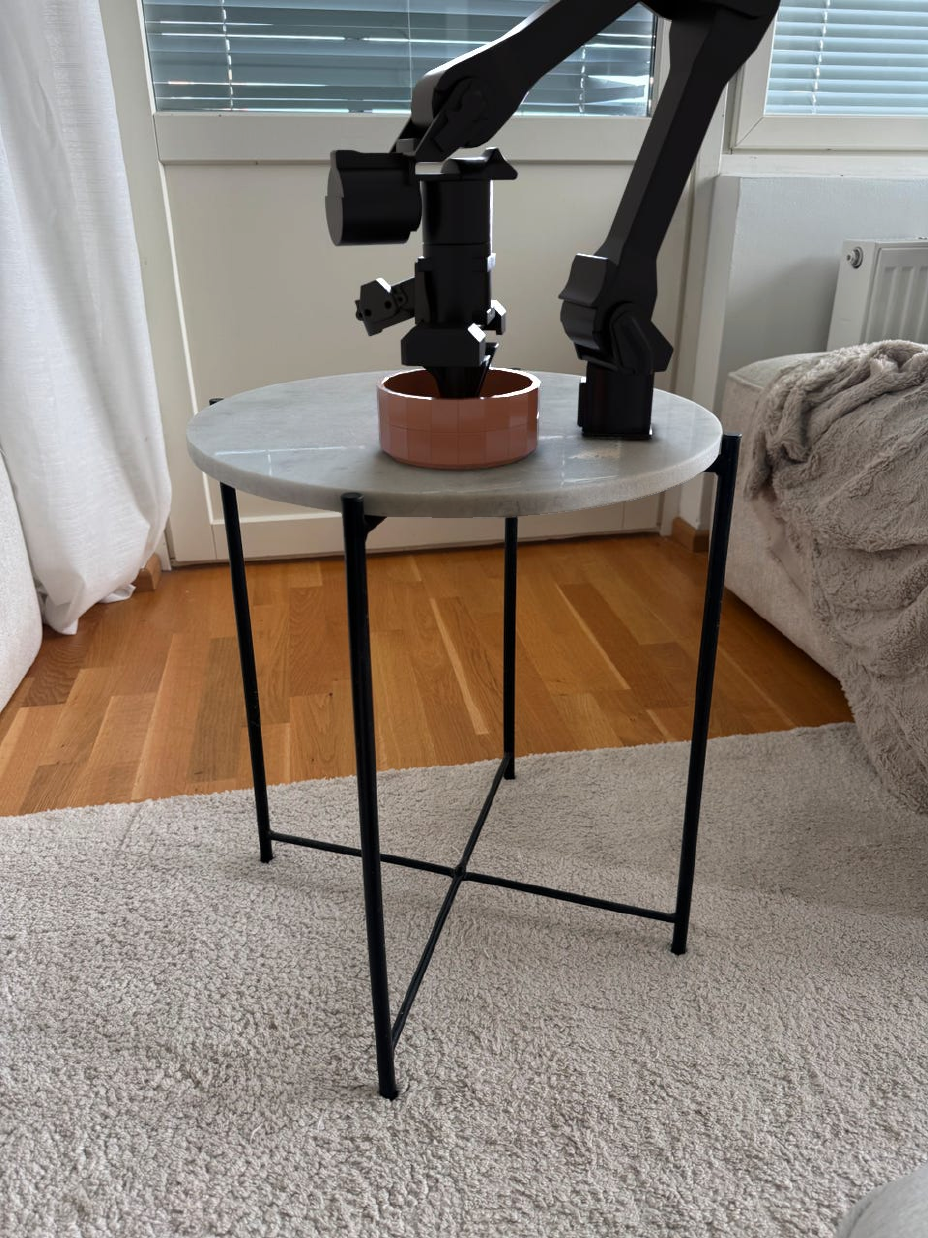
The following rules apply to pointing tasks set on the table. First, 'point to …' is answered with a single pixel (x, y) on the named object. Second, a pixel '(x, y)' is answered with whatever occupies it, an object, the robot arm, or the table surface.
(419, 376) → the bowl
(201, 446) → the table surface
